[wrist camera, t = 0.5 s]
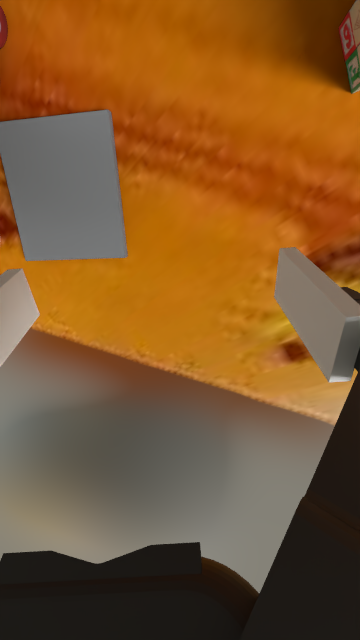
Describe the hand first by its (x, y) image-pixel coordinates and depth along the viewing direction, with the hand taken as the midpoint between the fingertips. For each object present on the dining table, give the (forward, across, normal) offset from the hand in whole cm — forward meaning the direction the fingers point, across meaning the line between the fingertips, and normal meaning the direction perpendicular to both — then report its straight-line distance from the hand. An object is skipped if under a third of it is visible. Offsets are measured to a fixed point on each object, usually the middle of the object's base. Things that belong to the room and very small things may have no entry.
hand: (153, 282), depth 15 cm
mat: (+28, -13, +1) cm, 31 cm away
